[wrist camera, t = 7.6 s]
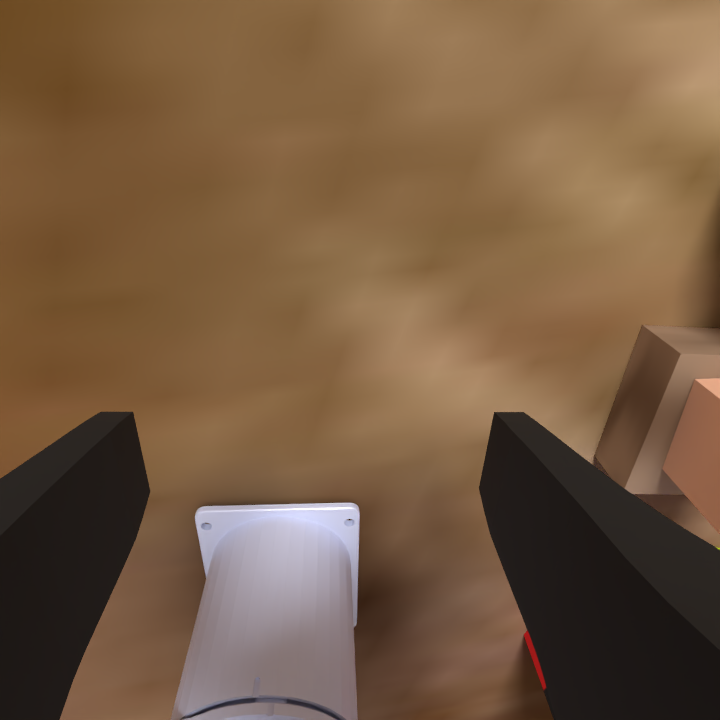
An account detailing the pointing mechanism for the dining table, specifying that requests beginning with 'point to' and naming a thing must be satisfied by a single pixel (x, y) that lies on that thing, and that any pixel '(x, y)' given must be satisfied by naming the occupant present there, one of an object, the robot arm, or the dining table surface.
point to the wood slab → (655, 404)
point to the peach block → (699, 450)
